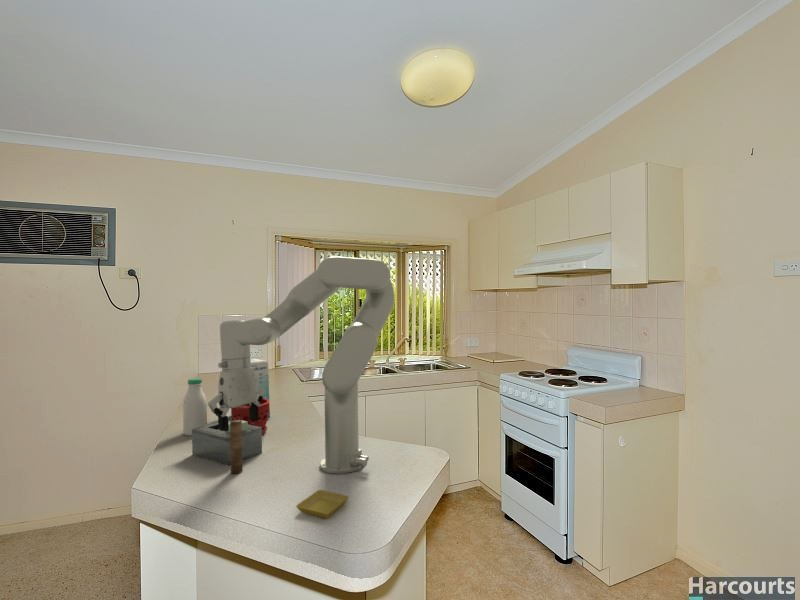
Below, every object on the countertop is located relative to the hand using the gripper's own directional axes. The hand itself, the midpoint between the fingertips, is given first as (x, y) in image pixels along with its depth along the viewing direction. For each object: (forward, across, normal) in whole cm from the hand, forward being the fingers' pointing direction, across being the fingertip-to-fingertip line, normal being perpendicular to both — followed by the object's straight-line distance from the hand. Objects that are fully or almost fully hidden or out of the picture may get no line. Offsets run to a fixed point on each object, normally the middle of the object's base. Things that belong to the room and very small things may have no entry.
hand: (239, 425), depth 110 cm
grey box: (+12, +7, +16) cm, 22 cm away
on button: (+7, +7, +11) cm, 15 cm away
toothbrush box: (+13, +38, +46) cm, 61 cm away
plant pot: (+13, +23, +26) cm, 37 cm away
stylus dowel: (+13, -1, +1) cm, 13 cm away
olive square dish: (+15, -4, -34) cm, 37 cm away
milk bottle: (+12, +14, +46) cm, 50 cm away
